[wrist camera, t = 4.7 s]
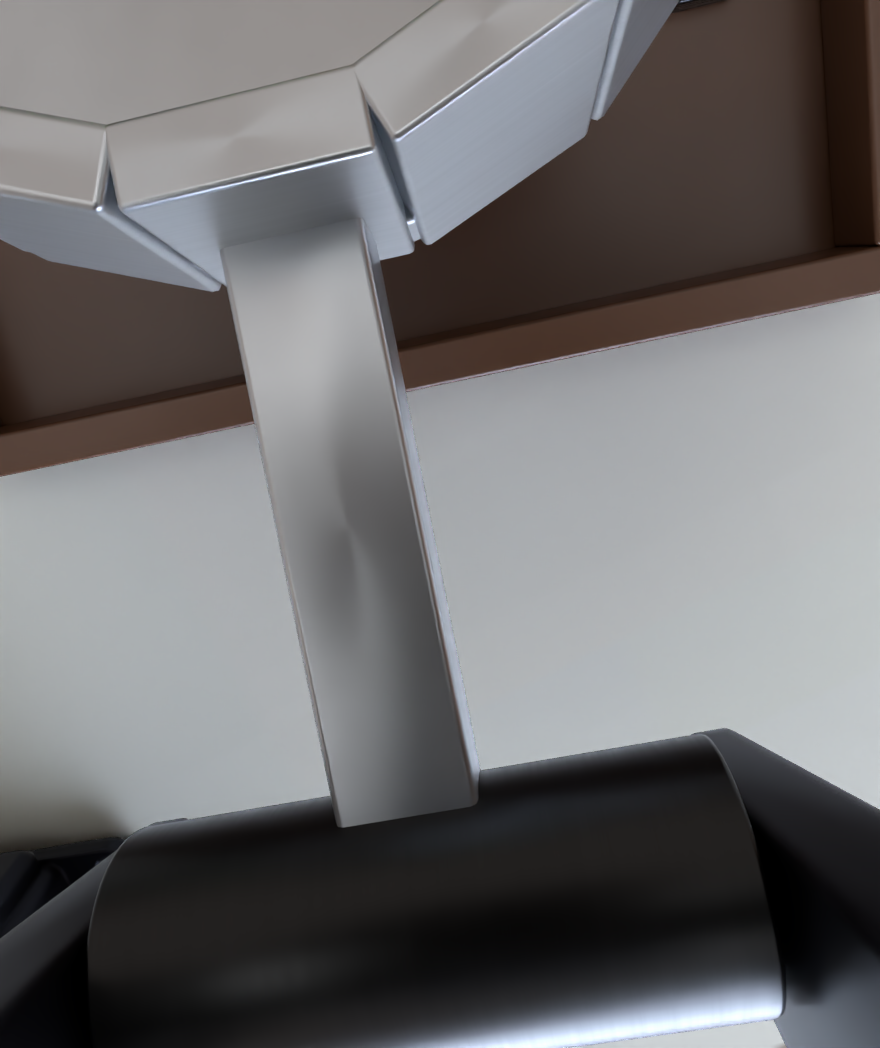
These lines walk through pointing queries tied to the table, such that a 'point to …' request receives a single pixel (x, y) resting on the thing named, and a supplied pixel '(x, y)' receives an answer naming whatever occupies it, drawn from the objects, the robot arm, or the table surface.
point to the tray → (524, 244)
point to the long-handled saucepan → (369, 543)
